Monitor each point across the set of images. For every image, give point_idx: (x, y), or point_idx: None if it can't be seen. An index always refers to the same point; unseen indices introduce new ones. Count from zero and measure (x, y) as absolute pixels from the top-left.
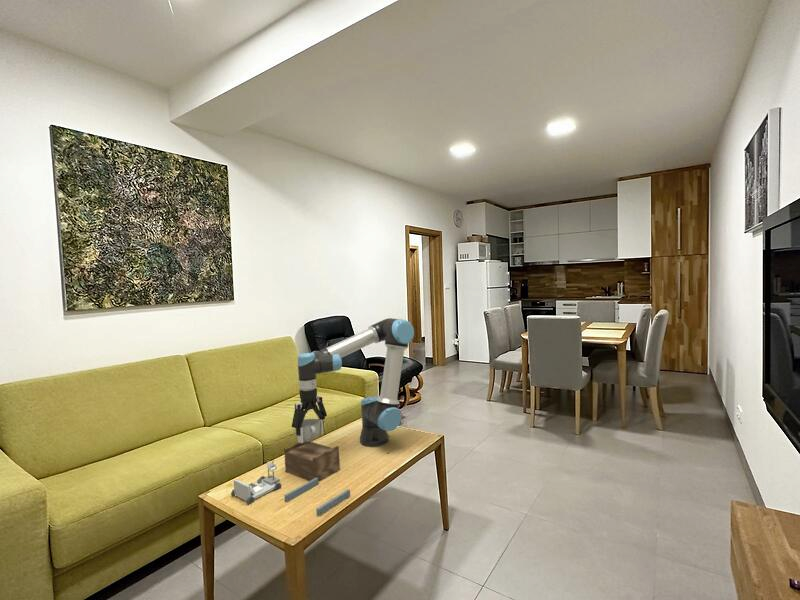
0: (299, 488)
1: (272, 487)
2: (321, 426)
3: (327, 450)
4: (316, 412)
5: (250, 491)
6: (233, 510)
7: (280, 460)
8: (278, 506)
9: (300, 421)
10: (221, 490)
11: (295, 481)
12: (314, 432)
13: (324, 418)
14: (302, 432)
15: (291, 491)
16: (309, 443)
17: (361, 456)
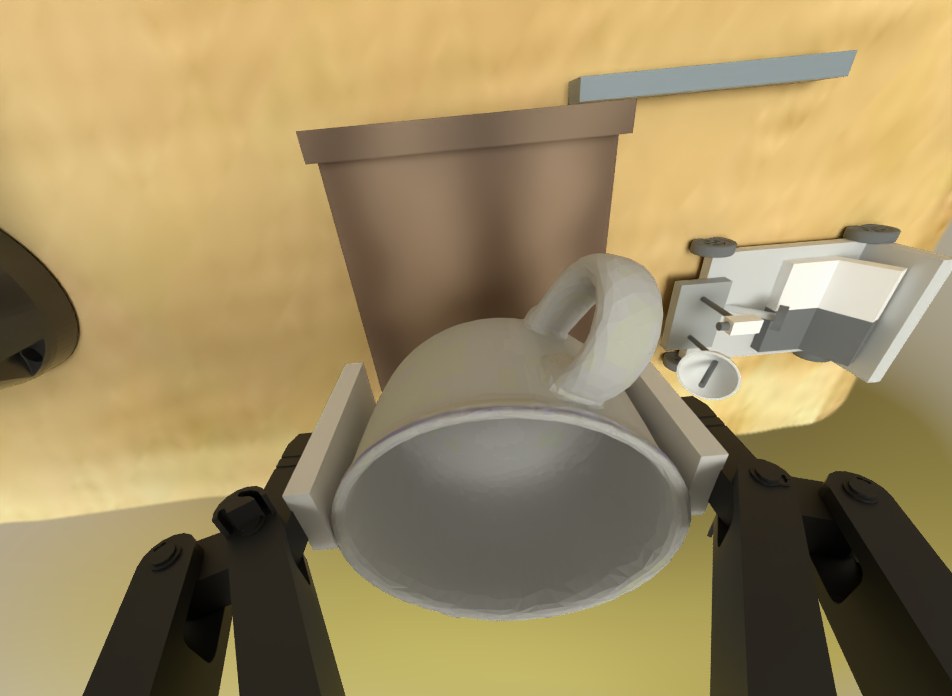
0: (749, 60)
1: (742, 252)
2: (339, 422)
3: (396, 217)
4: (332, 687)
5: (906, 250)
6: (927, 237)
7: None
8: (872, 57)
9: (810, 569)
10: (776, 413)
11: None
12: (624, 257)
13: (240, 498)
14: (668, 405)
15: (797, 74)
16: None
17: (137, 173)
